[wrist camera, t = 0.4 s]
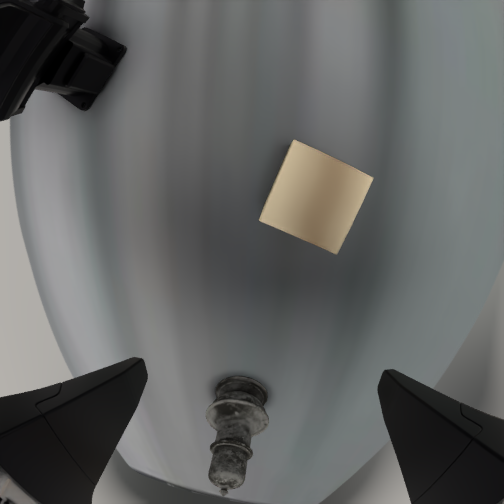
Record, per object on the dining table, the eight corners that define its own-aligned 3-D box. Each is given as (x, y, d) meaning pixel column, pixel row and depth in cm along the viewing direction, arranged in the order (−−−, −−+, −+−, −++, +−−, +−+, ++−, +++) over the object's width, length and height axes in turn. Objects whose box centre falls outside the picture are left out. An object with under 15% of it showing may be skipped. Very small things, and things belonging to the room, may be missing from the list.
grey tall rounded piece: (251, 419, 28) (237, 513, 17) (203, 397, 28) (173, 491, 17) (282, 390, 27) (278, 495, 15) (230, 364, 26) (203, 472, 15)
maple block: (263, 206, 22) (258, 220, 17) (290, 144, 20) (293, 139, 15) (324, 233, 22) (336, 254, 17) (352, 173, 20) (373, 178, 15)
